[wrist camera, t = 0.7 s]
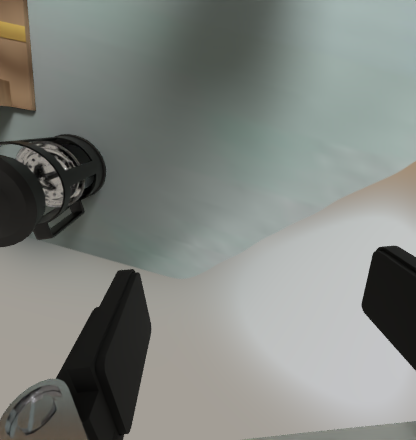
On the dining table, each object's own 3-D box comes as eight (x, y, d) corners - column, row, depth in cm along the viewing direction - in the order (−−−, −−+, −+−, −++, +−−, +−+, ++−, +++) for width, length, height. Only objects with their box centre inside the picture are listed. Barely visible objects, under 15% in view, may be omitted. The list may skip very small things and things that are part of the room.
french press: (28, 133, 34) (-257, 151, 12) (94, 125, 34) (-79, 127, 12) (58, 210, 38) (-114, 320, 17) (116, 203, 38) (18, 303, 17)
